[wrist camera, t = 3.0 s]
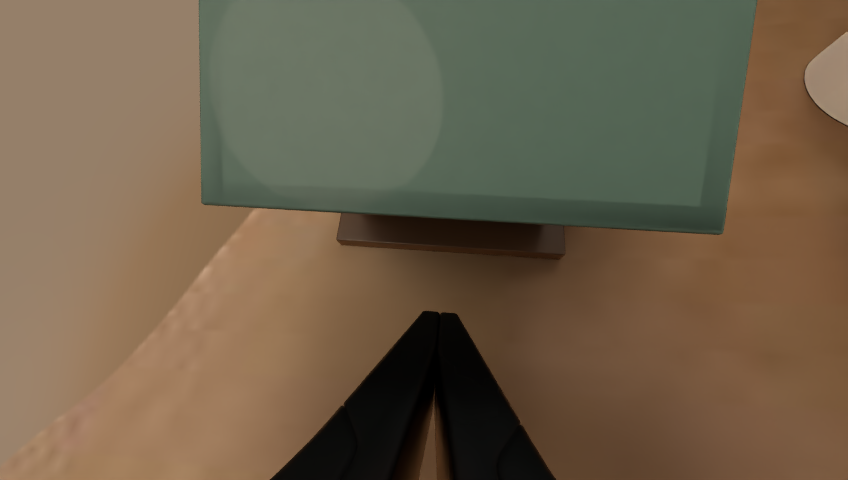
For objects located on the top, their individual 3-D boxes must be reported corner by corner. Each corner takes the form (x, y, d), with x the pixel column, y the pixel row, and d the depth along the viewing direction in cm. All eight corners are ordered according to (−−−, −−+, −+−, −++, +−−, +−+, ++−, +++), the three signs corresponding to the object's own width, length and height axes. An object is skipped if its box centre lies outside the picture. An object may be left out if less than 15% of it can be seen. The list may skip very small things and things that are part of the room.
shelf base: (559, 259, 19) (565, 254, 18) (340, 245, 20) (335, 239, 19) (552, 130, 22) (557, 120, 21) (362, 124, 23) (359, 113, 22)
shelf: (547, 218, 18) (724, 234, 6) (356, 207, 19) (200, 204, 7) (556, 117, 18) (769, -70, 6) (359, 111, 19) (196, -62, 7)
